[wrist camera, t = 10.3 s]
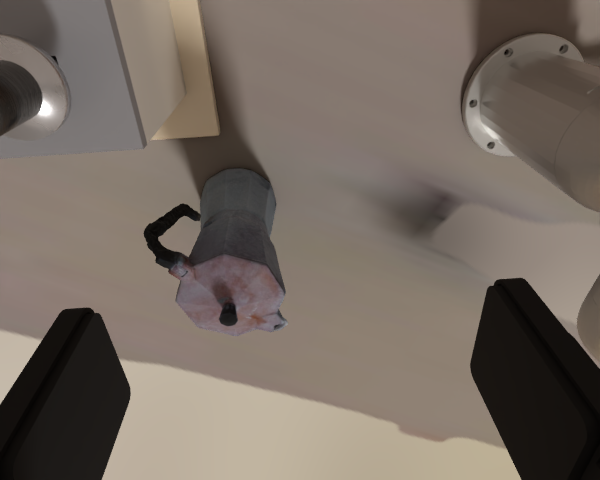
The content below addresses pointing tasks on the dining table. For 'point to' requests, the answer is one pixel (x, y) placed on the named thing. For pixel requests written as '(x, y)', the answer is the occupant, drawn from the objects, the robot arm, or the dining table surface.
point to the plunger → (30, 90)
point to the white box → (119, 72)
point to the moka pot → (227, 256)
